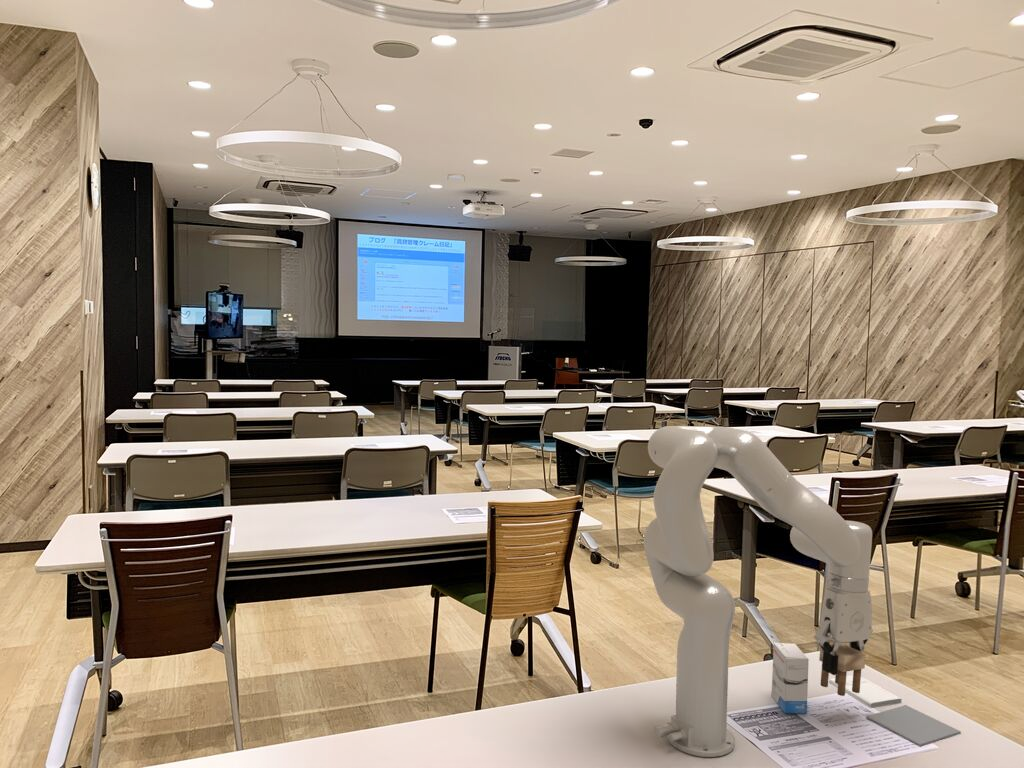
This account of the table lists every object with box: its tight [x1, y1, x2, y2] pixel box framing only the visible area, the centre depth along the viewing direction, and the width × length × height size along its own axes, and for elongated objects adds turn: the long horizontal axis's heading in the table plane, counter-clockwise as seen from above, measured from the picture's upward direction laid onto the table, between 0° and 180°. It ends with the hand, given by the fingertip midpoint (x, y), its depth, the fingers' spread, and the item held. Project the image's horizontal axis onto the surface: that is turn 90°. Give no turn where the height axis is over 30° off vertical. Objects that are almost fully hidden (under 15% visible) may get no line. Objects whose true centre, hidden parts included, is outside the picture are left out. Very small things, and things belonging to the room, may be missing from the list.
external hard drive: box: [829, 674, 903, 709], centre depth 166 cm, size 2×8×12 cm
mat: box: [865, 704, 962, 747], centre depth 151 cm, size 12×12×1 cm
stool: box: [818, 643, 867, 697], centre depth 153 cm, size 6×6×8 cm
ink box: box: [771, 642, 810, 715], centre depth 159 cm, size 8×5×12 cm, turn 179°
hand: (841, 669), depth 153 cm, fingers closed on stool, 6 cm apart
